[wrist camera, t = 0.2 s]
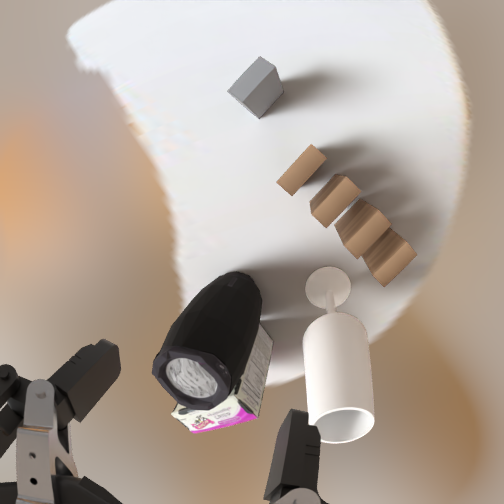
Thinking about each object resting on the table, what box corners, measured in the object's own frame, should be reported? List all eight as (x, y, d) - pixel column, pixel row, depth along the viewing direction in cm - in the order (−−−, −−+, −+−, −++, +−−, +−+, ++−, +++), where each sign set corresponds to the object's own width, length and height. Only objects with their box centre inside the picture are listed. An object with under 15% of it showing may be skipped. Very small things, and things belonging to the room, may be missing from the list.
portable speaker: (249, 329, 43) (211, 425, 24) (198, 298, 43) (135, 379, 24) (278, 290, 40) (253, 387, 21) (223, 255, 40) (158, 329, 21)
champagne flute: (341, 313, 39) (359, 452, 16) (298, 301, 40) (282, 441, 17) (358, 274, 37) (405, 403, 14) (313, 260, 37) (317, 389, 15)
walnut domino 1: (283, 178, 35) (276, 182, 25) (309, 150, 33) (311, 143, 24) (295, 188, 35) (292, 196, 26) (321, 160, 33) (327, 158, 24)
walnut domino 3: (334, 224, 35) (344, 245, 26) (359, 198, 34) (378, 209, 24) (344, 235, 36) (357, 259, 26) (369, 208, 34) (391, 224, 24)
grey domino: (247, 110, 33) (227, 91, 24) (272, 83, 31) (259, 56, 22) (259, 118, 33) (242, 102, 24) (283, 92, 31) (275, 66, 22)
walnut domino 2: (309, 201, 35) (311, 214, 26) (335, 174, 33) (346, 176, 24) (320, 212, 35) (326, 228, 26) (346, 184, 34) (361, 191, 24)
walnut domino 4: (356, 247, 36) (372, 275, 26) (382, 221, 34) (406, 241, 25) (366, 257, 36) (384, 287, 26) (391, 232, 34) (417, 254, 25)
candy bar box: (224, 365, 46) (193, 435, 31) (206, 345, 45) (168, 413, 30) (276, 341, 43) (259, 420, 27) (258, 319, 42) (232, 395, 26)
